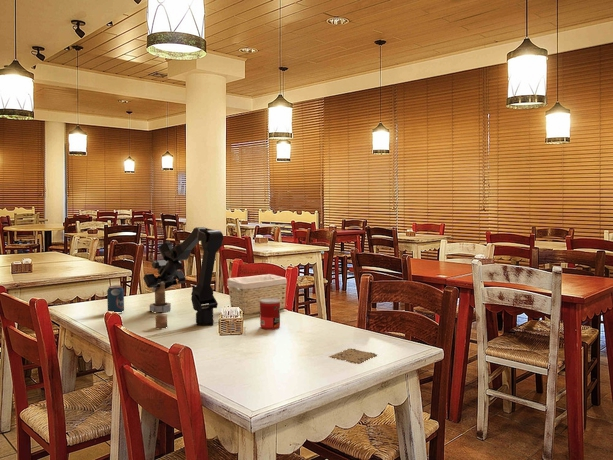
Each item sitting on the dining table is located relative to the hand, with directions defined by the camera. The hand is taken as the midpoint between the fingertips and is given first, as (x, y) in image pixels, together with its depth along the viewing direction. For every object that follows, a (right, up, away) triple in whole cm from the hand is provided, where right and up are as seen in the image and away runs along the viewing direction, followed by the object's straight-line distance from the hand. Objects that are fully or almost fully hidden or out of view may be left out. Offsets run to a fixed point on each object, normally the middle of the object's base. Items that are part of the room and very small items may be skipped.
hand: (158, 290), depth 240 cm
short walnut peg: (+10, -11, -30) cm, 34 cm away
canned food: (+53, -12, -30) cm, 62 cm away
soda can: (-18, -10, -5) cm, 21 cm away
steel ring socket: (+1, -9, 0) cm, 9 cm away
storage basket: (+45, -10, +4) cm, 46 cm away
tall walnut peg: (+1, -7, 0) cm, 7 cm away
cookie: (+83, -15, -67) cm, 108 cm away
